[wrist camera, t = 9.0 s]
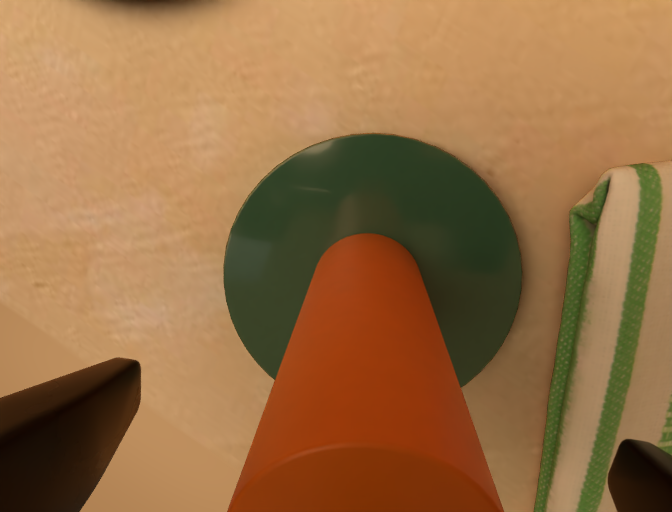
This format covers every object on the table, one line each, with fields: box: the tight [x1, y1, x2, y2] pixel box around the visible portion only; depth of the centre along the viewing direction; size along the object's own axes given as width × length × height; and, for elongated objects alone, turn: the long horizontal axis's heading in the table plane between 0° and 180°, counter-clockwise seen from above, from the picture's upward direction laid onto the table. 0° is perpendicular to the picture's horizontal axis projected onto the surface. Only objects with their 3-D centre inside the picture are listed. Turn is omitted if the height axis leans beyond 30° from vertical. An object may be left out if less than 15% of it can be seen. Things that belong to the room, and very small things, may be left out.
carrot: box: [227, 233, 504, 512], centre depth 9 cm, size 4×4×12 cm
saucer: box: [224, 133, 522, 388], centre depth 15 cm, size 10×10×1 cm
